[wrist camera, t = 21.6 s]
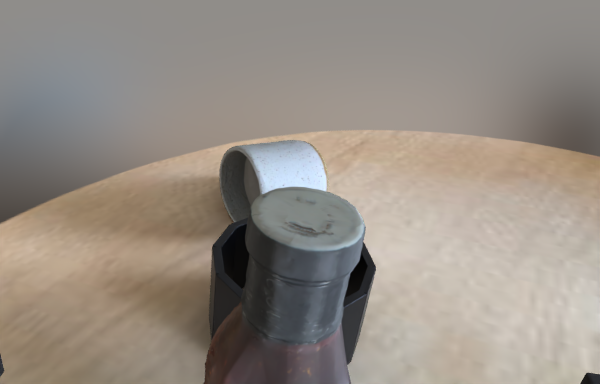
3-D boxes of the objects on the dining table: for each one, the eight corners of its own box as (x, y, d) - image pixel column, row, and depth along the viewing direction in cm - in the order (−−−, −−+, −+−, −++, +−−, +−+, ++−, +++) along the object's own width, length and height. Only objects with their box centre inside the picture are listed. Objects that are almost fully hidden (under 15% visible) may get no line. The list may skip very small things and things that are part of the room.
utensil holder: (291, 260, 48) (300, 196, 45) (387, 338, 42) (406, 271, 38) (181, 311, 41) (181, 241, 38) (274, 414, 35) (285, 341, 32)
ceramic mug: (328, 223, 54) (340, 152, 50) (256, 247, 49) (263, 171, 45) (268, 174, 61) (274, 108, 57) (200, 190, 56) (202, 120, 52)
